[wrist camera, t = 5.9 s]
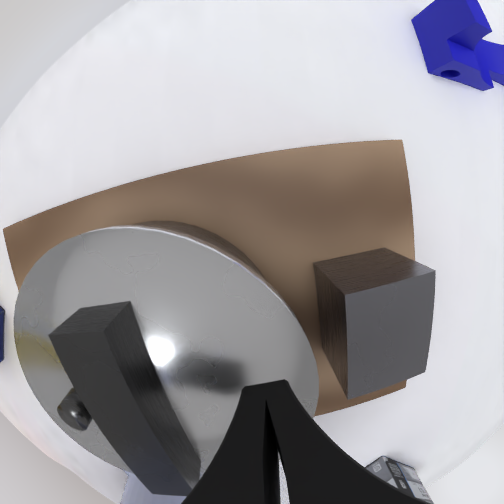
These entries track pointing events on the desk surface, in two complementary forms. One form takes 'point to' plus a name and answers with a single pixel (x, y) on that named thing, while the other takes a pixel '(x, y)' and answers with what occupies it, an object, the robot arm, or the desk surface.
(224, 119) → the desk surface
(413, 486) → the grey blue carton
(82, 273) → the lid
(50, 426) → the desk surface
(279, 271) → the walnut board
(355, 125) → the desk surface
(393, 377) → the grey dish and cube
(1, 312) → the supplement box
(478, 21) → the cable clip
